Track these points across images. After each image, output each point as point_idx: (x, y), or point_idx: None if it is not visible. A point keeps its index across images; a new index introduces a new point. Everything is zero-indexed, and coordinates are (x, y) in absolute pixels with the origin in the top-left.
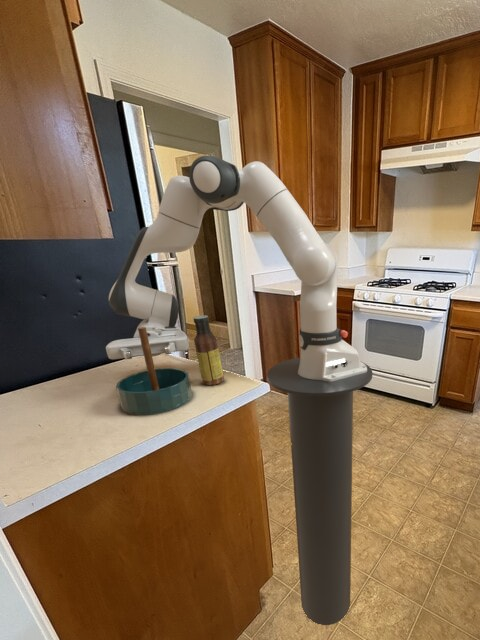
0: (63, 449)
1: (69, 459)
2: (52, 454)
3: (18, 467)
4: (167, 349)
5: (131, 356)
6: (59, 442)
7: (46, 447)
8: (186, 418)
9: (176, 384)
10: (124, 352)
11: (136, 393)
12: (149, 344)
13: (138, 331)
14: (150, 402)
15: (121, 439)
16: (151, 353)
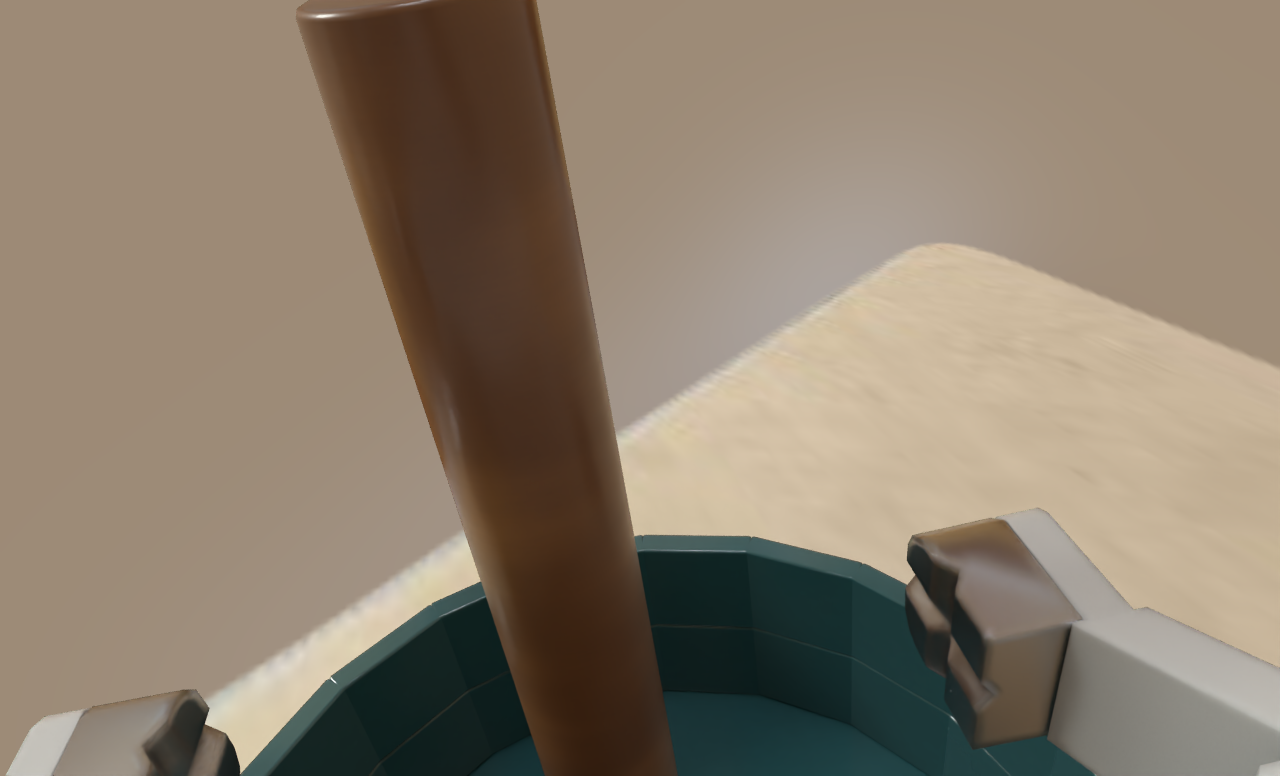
0: (1023, 400)
1: (921, 351)
2: (1044, 376)
3: (1115, 324)
4: (133, 703)
5: (947, 675)
6: (1118, 446)
7: (1148, 416)
8: (407, 602)
9: (353, 664)
10: (1046, 528)
11: (729, 537)
12: (444, 463)
13: (544, 67)
14: None
15: (756, 447)
16: (496, 626)
